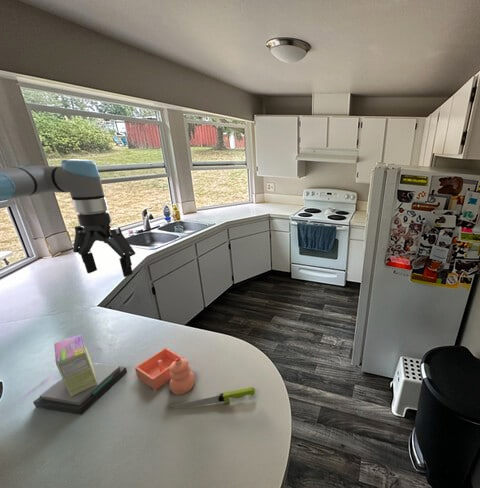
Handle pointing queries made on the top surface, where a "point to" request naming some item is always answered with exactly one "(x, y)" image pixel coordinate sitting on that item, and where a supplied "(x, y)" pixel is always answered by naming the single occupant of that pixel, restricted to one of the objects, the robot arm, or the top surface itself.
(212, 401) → the kitchen knife
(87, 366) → the box
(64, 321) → the top surface
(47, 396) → the scale
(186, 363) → the pottery
